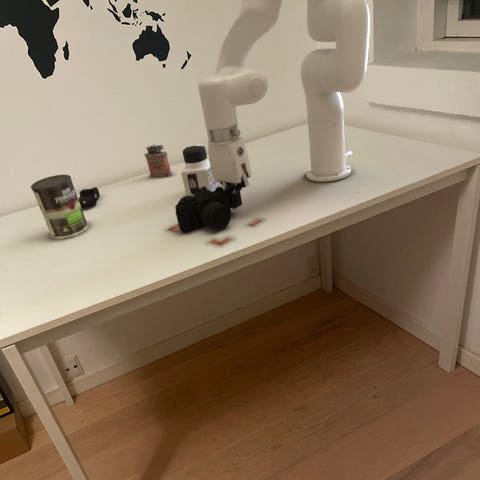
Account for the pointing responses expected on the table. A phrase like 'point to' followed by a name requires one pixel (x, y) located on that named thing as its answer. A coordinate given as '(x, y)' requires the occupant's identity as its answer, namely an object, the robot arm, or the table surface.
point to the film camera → (204, 210)
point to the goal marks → (213, 240)
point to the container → (197, 170)
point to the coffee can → (60, 206)
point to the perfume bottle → (157, 161)
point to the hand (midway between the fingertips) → (236, 206)
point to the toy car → (88, 197)
